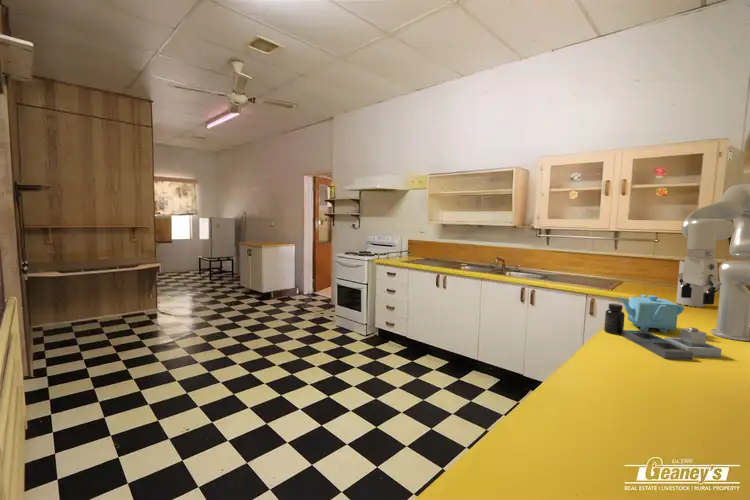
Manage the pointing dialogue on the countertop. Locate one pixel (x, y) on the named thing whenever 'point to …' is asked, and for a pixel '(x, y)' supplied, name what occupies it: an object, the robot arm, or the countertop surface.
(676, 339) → the parts tray
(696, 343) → the beige block with knob
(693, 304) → the cylinder vase
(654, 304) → the teakettle
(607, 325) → the supplement bottle
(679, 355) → the rail
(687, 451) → the countertop surface
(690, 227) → the robot arm
